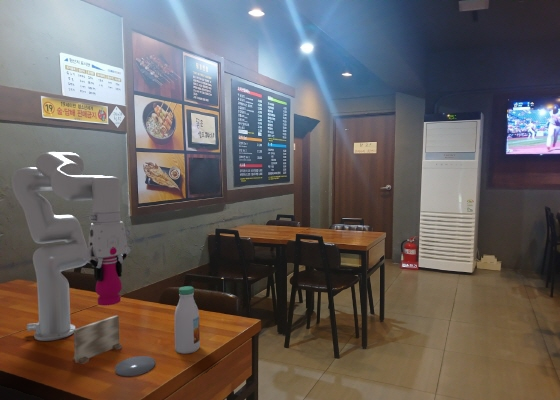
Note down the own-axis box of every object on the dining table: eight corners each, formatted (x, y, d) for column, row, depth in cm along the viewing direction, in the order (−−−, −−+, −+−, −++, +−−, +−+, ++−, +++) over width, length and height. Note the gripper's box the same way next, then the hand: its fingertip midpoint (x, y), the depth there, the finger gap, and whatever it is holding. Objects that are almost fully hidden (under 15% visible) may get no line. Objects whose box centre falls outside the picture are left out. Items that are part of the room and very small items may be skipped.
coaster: (110, 378, 107) (110, 376, 107) (119, 359, 117) (119, 357, 117) (152, 374, 109) (152, 372, 109) (157, 356, 119) (157, 354, 119)
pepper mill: (112, 307, 112) (110, 238, 111) (90, 305, 113) (88, 237, 112) (127, 299, 119) (125, 234, 118) (106, 297, 121) (104, 234, 119)
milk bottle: (187, 356, 119) (186, 292, 118) (169, 350, 123) (168, 289, 122) (204, 347, 126) (203, 286, 124) (187, 341, 130) (186, 283, 128)
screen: (80, 364, 114) (79, 331, 114) (71, 360, 117) (70, 327, 116) (123, 347, 126) (122, 317, 125) (114, 343, 129) (113, 314, 128)
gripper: (85, 221, 105) (87, 287, 107) (139, 216, 120) (140, 274, 121) (71, 220, 110) (73, 282, 111) (124, 214, 124) (126, 270, 125)
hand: (108, 277), depth 116 cm, fingers closed on pepper mill, 5 cm apart
